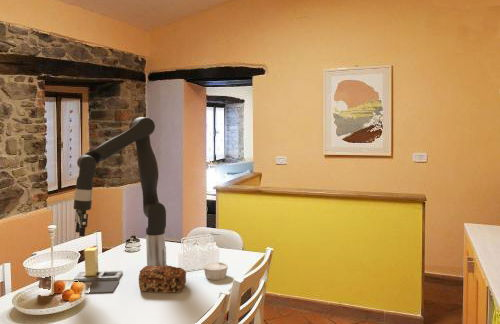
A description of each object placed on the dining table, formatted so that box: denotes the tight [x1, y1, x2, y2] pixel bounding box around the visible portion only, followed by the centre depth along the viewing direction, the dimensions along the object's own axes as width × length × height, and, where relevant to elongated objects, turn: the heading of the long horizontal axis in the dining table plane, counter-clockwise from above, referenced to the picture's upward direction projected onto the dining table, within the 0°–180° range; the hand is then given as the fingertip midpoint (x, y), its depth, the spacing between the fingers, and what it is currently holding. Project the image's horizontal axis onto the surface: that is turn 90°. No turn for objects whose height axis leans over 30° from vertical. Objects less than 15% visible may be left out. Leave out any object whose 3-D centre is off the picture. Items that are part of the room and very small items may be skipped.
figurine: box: [37, 275, 56, 290], centre depth 185 cm, size 7×7×12 cm
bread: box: [138, 265, 187, 294], centre depth 189 cm, size 19×11×10 cm, turn 83°
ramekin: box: [203, 261, 229, 281], centre depth 203 cm, size 11×11×5 cm
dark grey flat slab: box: [73, 270, 124, 283], centre depth 203 cm, size 20×9×2 cm, turn 94°
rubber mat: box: [88, 280, 120, 295], centre depth 191 cm, size 12×12×1 cm
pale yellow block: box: [84, 246, 99, 277], centre depth 202 cm, size 5×5×14 cm
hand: (79, 234), depth 197 cm, fingers open, 8 cm apart
